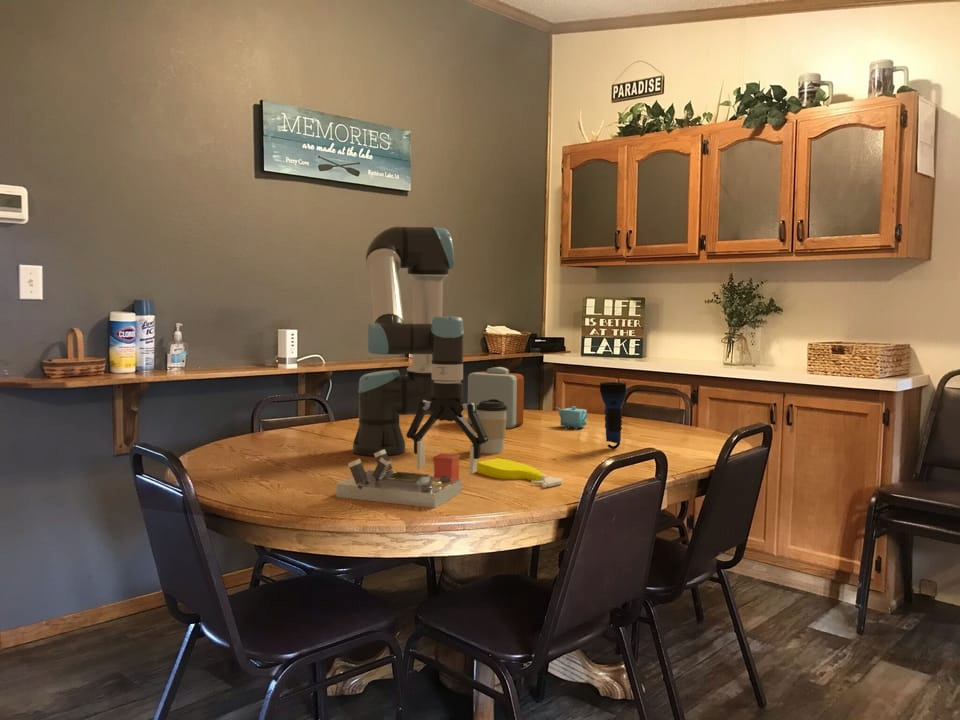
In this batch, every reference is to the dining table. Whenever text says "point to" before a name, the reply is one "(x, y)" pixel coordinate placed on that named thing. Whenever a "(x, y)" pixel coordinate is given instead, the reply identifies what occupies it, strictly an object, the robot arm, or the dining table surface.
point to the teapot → (573, 417)
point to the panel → (401, 489)
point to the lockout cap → (446, 465)
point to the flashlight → (613, 410)
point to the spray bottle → (515, 472)
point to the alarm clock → (499, 392)
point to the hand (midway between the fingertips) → (446, 470)
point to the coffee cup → (493, 424)
